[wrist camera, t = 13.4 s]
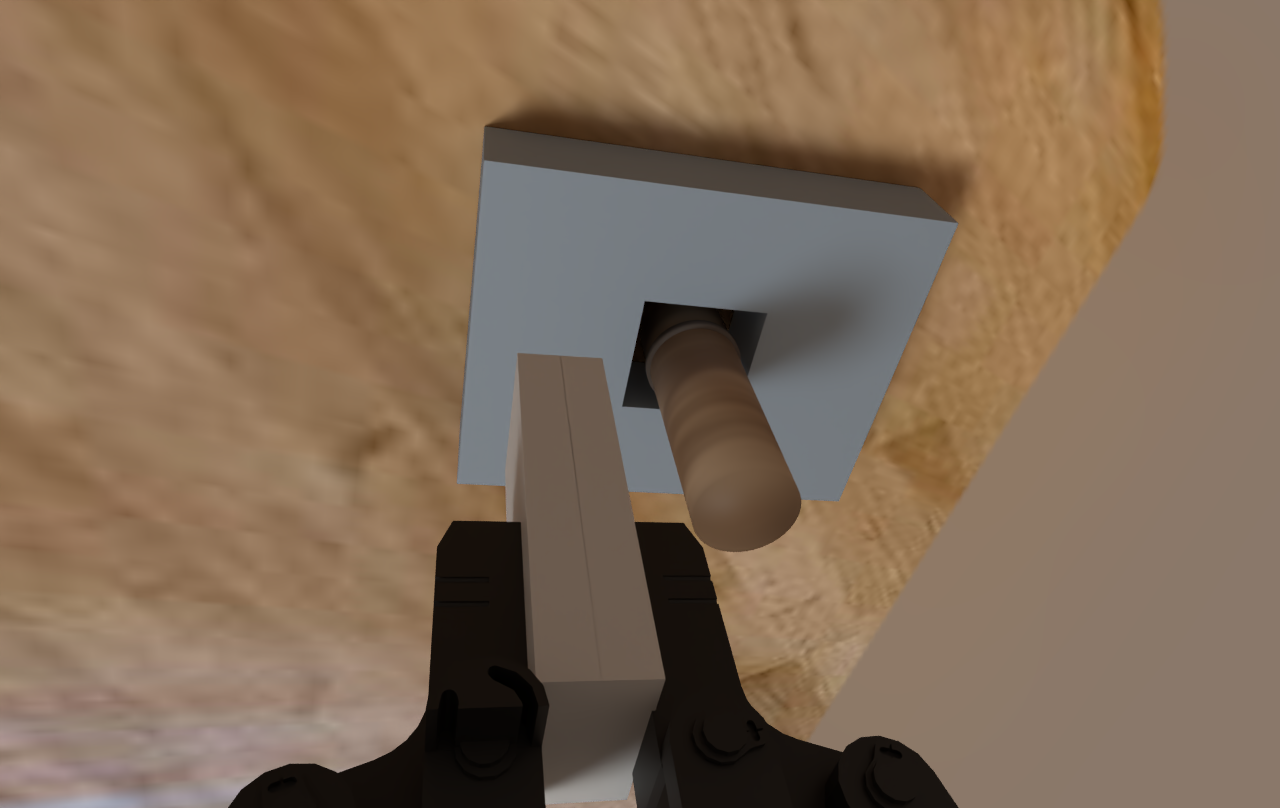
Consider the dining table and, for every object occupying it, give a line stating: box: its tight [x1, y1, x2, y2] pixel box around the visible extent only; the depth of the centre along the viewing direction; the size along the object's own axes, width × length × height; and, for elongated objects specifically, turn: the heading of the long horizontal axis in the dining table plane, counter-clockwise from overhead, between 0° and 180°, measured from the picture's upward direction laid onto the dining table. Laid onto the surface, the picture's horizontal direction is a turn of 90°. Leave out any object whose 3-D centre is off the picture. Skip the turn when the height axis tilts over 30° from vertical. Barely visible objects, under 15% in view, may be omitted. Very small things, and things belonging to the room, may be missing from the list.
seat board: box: [457, 126, 958, 501], centre depth 39 cm, size 16×20×4 cm
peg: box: [640, 301, 801, 552], centre depth 35 cm, size 4×4×14 cm
